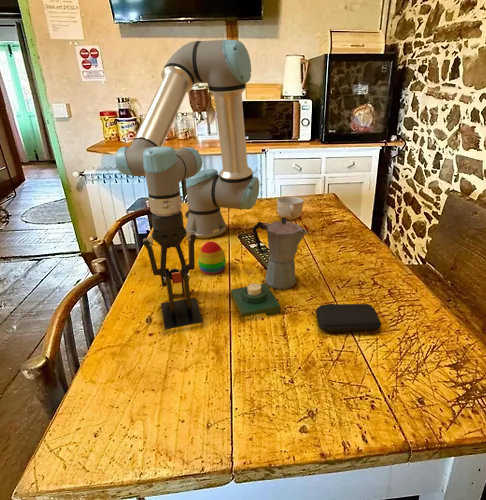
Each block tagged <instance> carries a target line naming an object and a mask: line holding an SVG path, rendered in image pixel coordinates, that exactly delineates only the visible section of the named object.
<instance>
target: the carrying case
mask: <svg viewBox="0 0 486 500" xmlns="http://www.w3.org/2000/svg"><path fill="white" fill-rule="evenodd" d="M377 313H378V312H377V311H376V309H375V307H374V306H372V305H371V304H369V303H337V304H334V303H332V302H331V303H328V304H321V305H319V306H318V307H317V308H316V309H315V314H316V320H317V324H318V327H319V329H320V330H321V331H323V332H324V333H369V332H376V331H379V330H381V328H382V322H381V320H380V317H379V316H378V314H377Z"/></svg>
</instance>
